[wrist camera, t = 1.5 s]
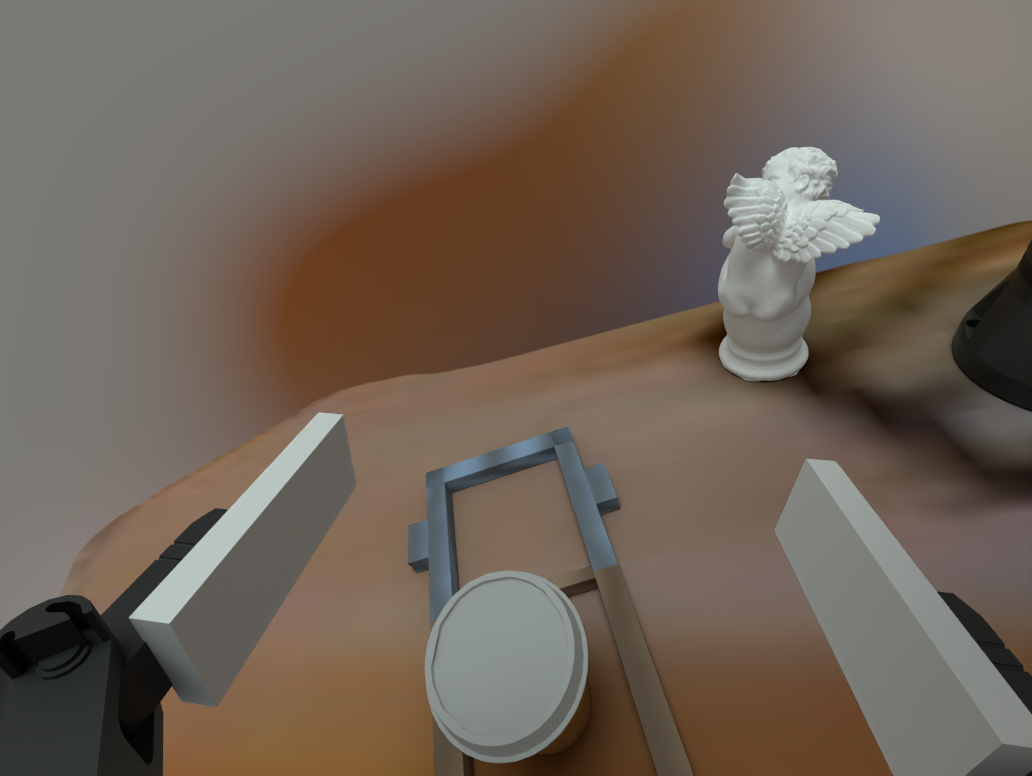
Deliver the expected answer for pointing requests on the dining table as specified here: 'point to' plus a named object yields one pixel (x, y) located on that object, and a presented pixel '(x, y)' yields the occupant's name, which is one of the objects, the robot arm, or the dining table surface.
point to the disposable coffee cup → (509, 669)
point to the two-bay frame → (590, 500)
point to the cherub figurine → (779, 259)
